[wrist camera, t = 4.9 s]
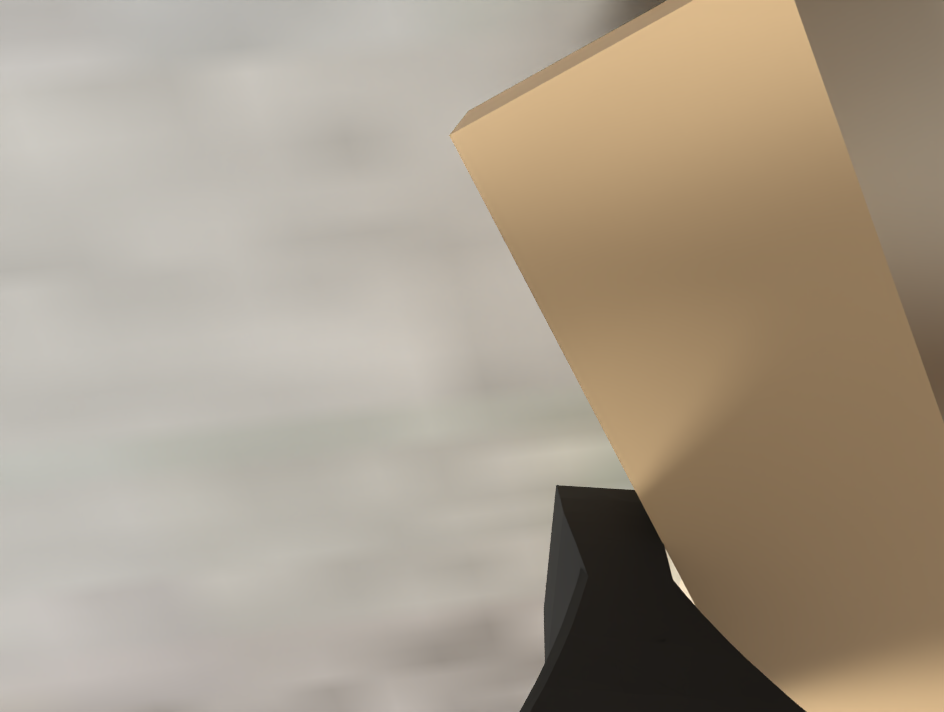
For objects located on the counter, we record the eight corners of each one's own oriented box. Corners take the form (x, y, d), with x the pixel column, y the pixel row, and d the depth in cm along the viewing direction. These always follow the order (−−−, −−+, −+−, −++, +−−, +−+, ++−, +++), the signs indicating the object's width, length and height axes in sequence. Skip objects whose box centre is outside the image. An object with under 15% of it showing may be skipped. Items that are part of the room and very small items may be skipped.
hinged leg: (1022, 818, 13) (1177, 1053, 10) (853, 866, 14) (950, 1101, 11) (694, -16, 9) (794, -54, 6) (468, 111, 10) (445, 139, 6)
